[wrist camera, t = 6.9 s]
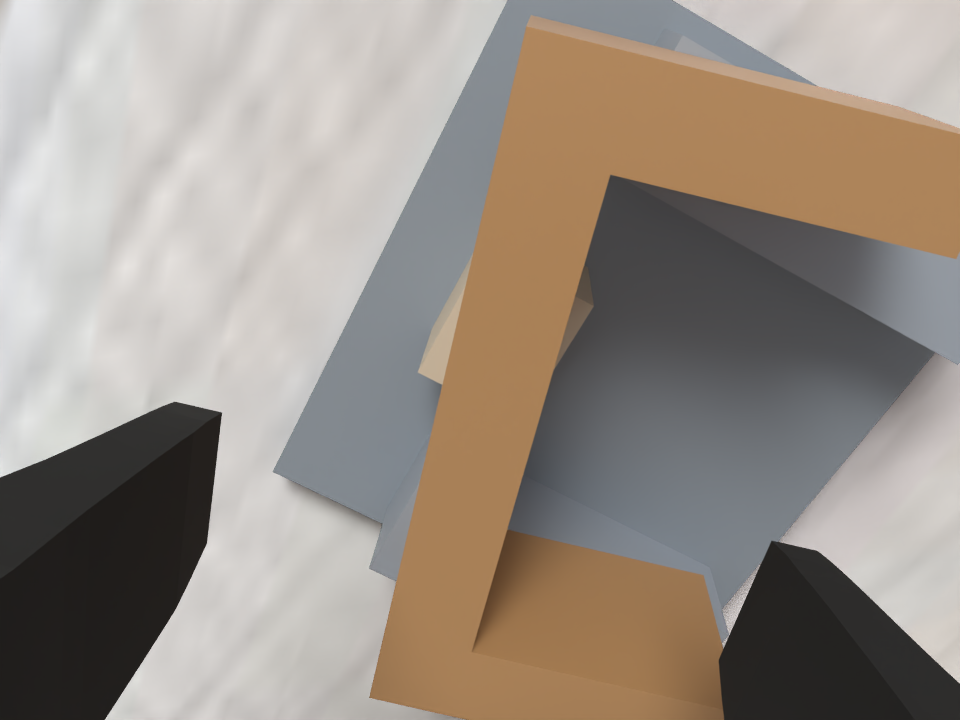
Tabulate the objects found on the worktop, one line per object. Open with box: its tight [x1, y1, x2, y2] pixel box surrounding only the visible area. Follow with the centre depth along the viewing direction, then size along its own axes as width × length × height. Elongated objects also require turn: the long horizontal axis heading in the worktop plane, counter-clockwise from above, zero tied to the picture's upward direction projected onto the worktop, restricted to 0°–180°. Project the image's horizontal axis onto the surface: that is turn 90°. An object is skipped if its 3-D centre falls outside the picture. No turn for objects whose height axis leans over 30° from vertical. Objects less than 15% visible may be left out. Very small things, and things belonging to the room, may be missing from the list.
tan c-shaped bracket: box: [369, 15, 960, 720], centre depth 16 cm, size 7×12×4 cm, turn 167°
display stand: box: [273, 0, 960, 643], centre depth 19 cm, size 12×14×4 cm
